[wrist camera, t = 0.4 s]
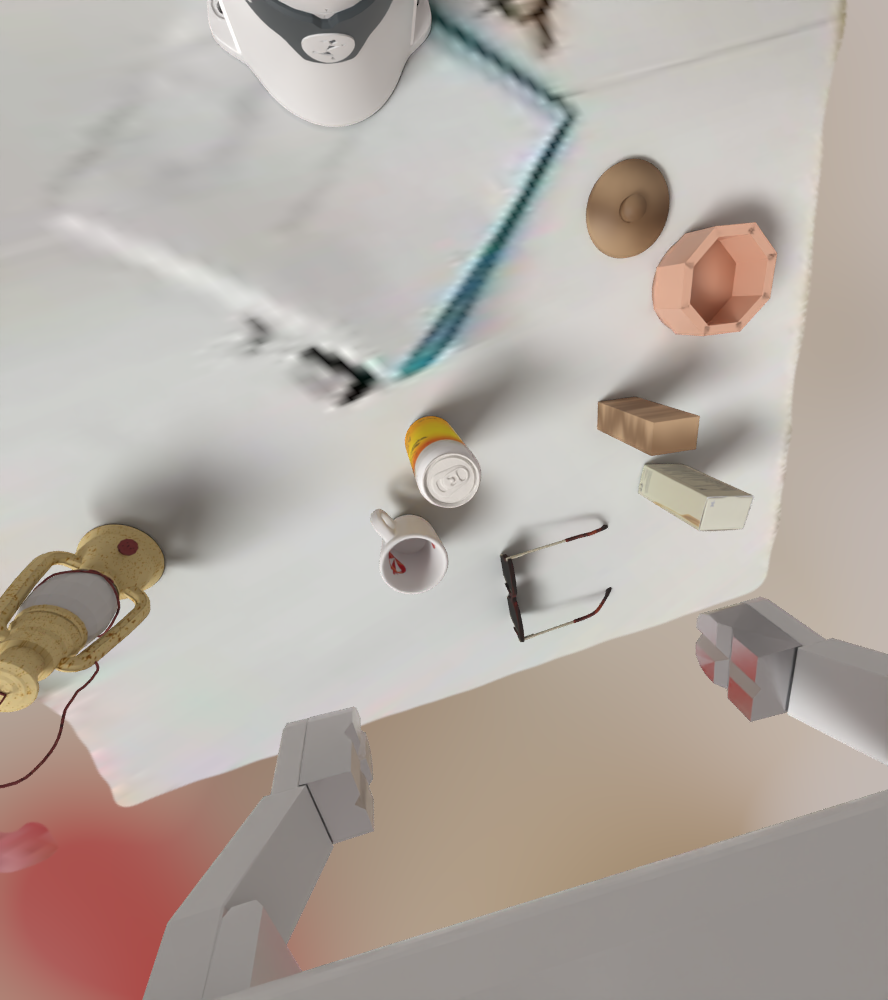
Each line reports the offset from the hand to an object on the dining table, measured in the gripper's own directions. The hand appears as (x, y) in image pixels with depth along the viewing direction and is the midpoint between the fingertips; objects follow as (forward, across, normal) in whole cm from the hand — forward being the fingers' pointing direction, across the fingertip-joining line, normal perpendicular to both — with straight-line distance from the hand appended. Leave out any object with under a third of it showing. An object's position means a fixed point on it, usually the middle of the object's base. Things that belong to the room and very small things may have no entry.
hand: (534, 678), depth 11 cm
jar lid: (+46, -28, -13) cm, 56 cm away
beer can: (+46, -2, +7) cm, 47 cm away
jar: (+46, -36, -4) cm, 59 cm away
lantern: (+46, +36, +13) cm, 60 cm away
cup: (+46, +3, +17) cm, 49 cm away
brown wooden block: (+46, -26, +9) cm, 54 cm away
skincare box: (+46, -33, +19) cm, 60 cm away
